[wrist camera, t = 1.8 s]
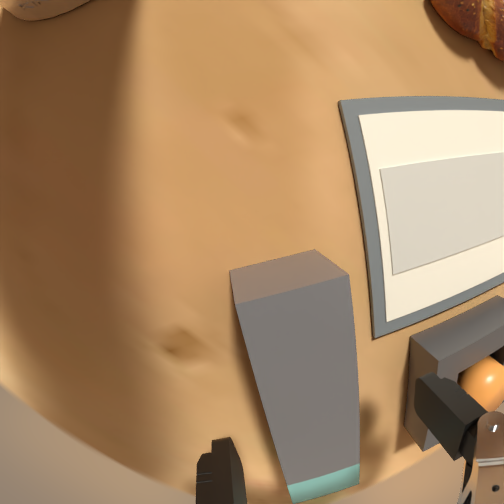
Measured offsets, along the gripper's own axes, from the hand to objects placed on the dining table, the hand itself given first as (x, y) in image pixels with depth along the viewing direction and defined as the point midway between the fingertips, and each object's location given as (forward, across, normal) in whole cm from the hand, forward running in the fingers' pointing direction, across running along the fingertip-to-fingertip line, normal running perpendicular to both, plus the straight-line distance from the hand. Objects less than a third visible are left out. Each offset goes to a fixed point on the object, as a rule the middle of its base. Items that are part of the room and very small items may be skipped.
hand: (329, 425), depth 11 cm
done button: (+3, -11, +5) cm, 12 cm away
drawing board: (+5, -13, -6) cm, 15 cm away
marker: (+5, 0, +1) cm, 5 cm away
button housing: (+5, -10, +4) cm, 12 cm away
